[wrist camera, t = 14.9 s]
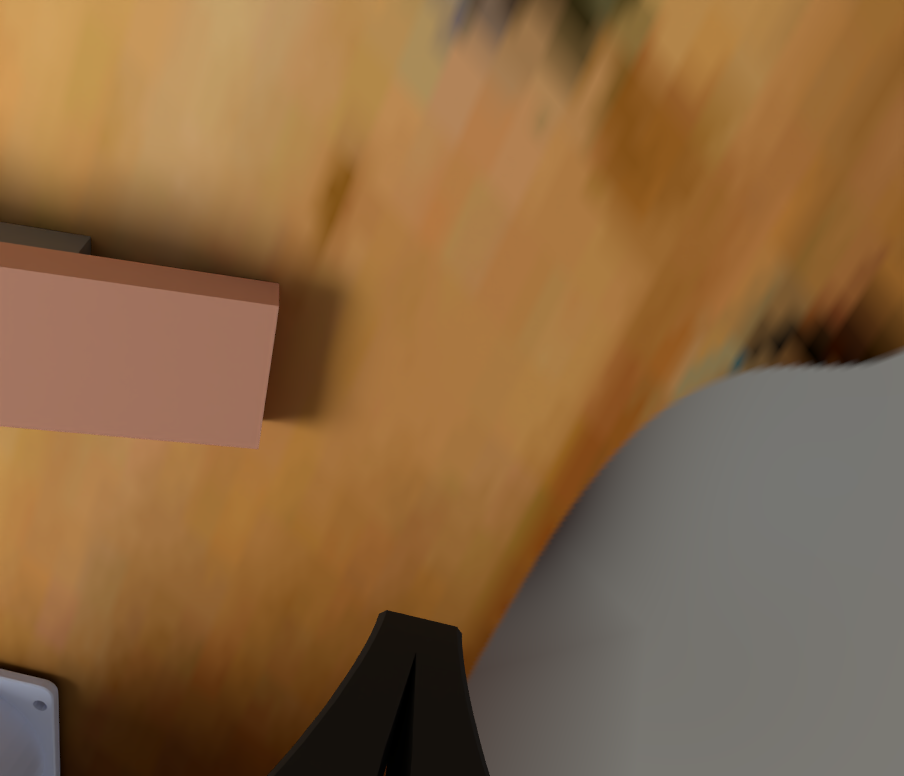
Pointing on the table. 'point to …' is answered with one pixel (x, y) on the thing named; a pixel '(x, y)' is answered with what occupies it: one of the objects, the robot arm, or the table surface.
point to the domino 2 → (133, 348)
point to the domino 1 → (45, 238)
